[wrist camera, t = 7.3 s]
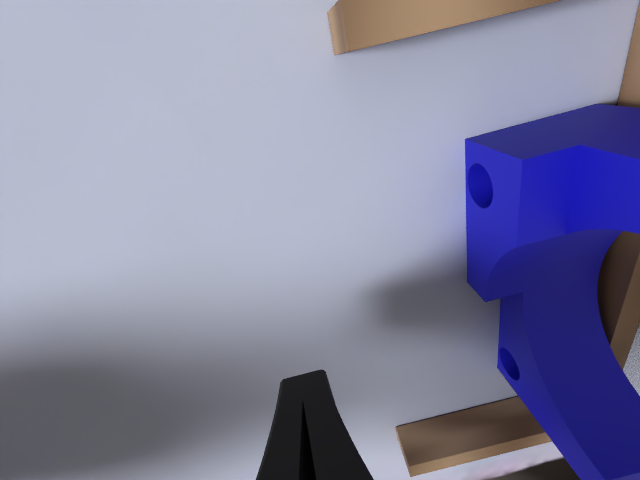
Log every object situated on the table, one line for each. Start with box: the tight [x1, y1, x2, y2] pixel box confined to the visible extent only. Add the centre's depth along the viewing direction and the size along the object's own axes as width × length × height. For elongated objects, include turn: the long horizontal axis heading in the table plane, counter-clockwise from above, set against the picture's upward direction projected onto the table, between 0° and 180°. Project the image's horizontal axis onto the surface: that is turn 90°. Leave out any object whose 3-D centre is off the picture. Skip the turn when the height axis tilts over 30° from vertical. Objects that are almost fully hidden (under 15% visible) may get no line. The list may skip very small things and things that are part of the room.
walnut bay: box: [328, 0, 640, 477], centre depth 13 cm, size 10×20×2 cm, turn 12°
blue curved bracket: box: [465, 104, 640, 480], centre depth 11 cm, size 12×4×6 cm, turn 13°
